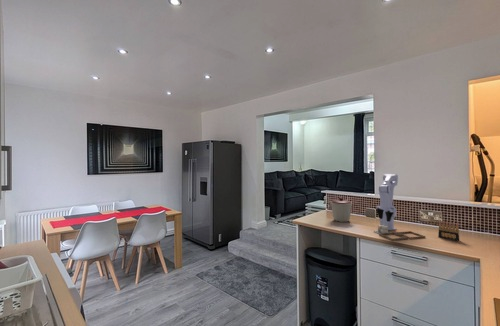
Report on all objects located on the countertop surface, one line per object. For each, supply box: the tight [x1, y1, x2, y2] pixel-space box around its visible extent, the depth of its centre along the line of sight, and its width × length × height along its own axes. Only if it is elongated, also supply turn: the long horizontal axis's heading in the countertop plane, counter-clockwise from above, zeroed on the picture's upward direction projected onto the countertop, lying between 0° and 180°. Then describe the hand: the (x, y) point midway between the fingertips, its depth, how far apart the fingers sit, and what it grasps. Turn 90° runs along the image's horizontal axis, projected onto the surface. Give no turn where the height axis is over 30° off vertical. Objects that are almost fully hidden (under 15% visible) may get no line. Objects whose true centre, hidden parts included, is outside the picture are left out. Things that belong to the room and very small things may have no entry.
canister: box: [330, 196, 353, 223], centre depth 211 cm, size 18×18×21 cm
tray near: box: [378, 232, 409, 242], centre depth 163 cm, size 12×12×1 cm
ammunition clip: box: [438, 219, 460, 242], centre depth 158 cm, size 11×2×12 cm, turn 40°
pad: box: [373, 230, 392, 235], centre depth 173 cm, size 7×10×1 cm
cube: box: [377, 224, 389, 233], centre depth 173 cm, size 4×4×4 cm
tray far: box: [395, 230, 426, 240], centre depth 166 cm, size 12×12×1 cm
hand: (384, 220), depth 174 cm, fingers open, 7 cm apart
